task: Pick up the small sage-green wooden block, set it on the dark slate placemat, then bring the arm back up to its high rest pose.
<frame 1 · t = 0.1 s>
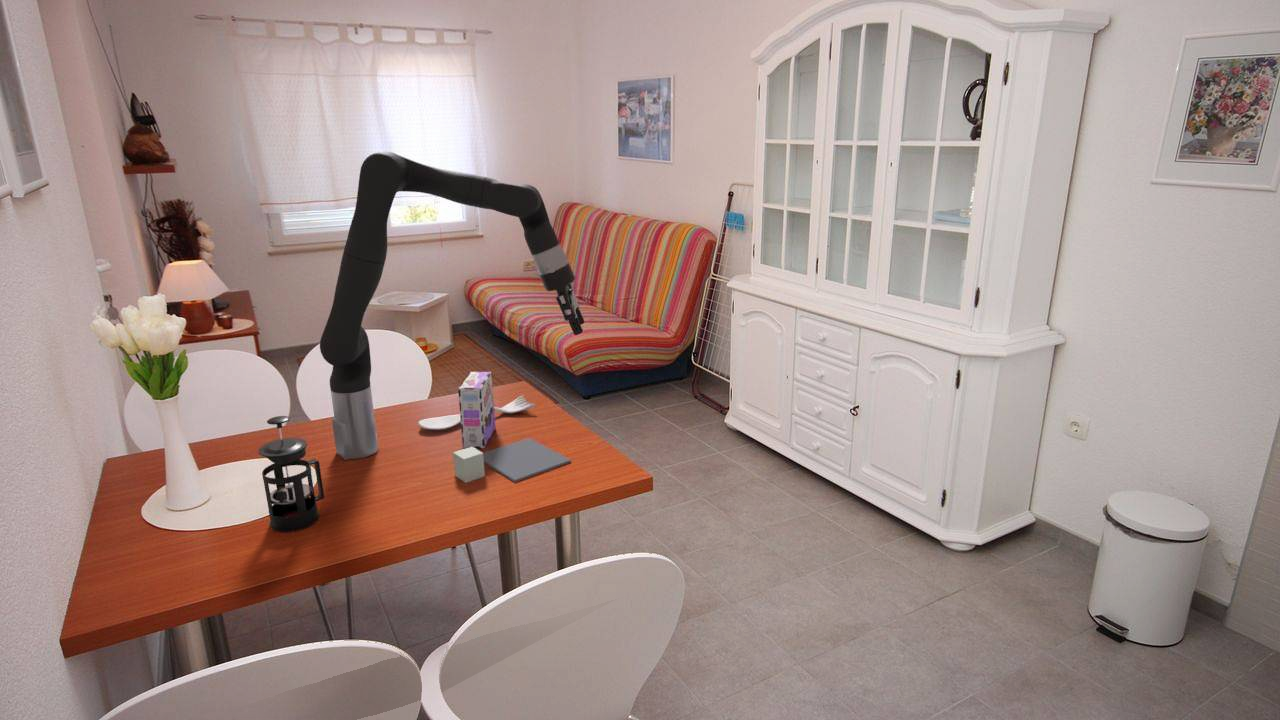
hand: (579, 328, 178), 31 cm above the table, tool tilted 20°, fingers open, 8 cm apart
french press: (297, 520, 154), on the table
candy box: (479, 438, 194), on the table
placemat: (522, 459, 181), on the table
sage block: (469, 476, 173), on the table
spoon: (477, 421, 207), on the table
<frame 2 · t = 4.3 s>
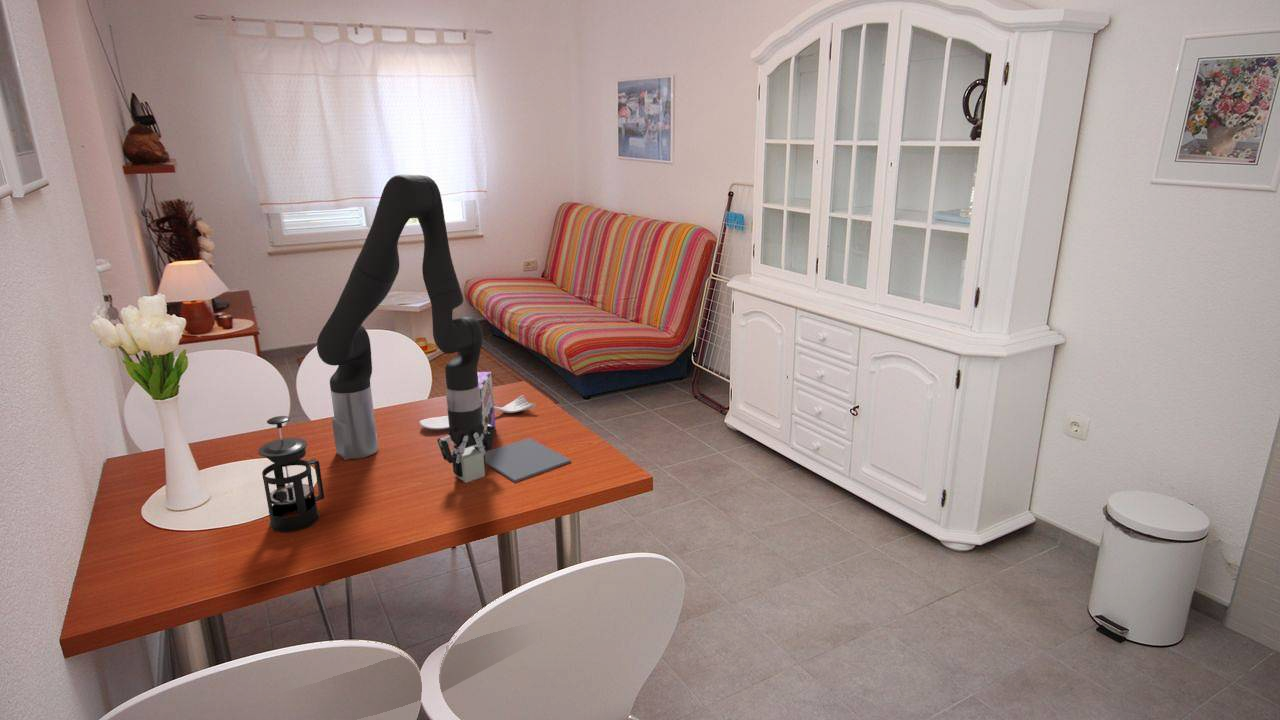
hand: (469, 472, 173), 1 cm above the table, tool pointing down, fingers closed on sage block, 5 cm apart
sage block: (470, 475, 173), on the table, touching gripper
everything else where it was.
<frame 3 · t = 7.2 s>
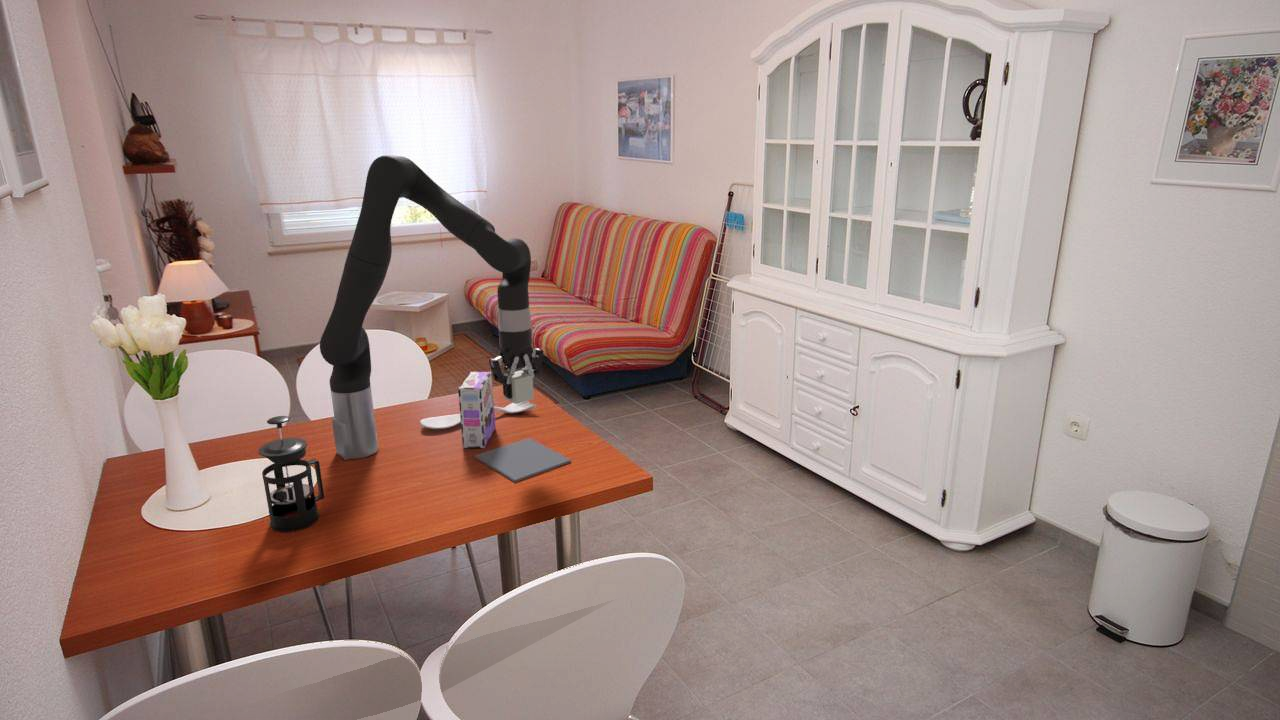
hand: (518, 394, 176), 17 cm above the table, tool pointing down, fingers closed on sage block, 5 cm apart
sage block: (519, 398, 176), point 16 cm above the table, touching gripper
everything else where it was.
when the fingers open (3 cm above the table, at t = 10.2 s): sage block drops 1 cm, resting on placemat.
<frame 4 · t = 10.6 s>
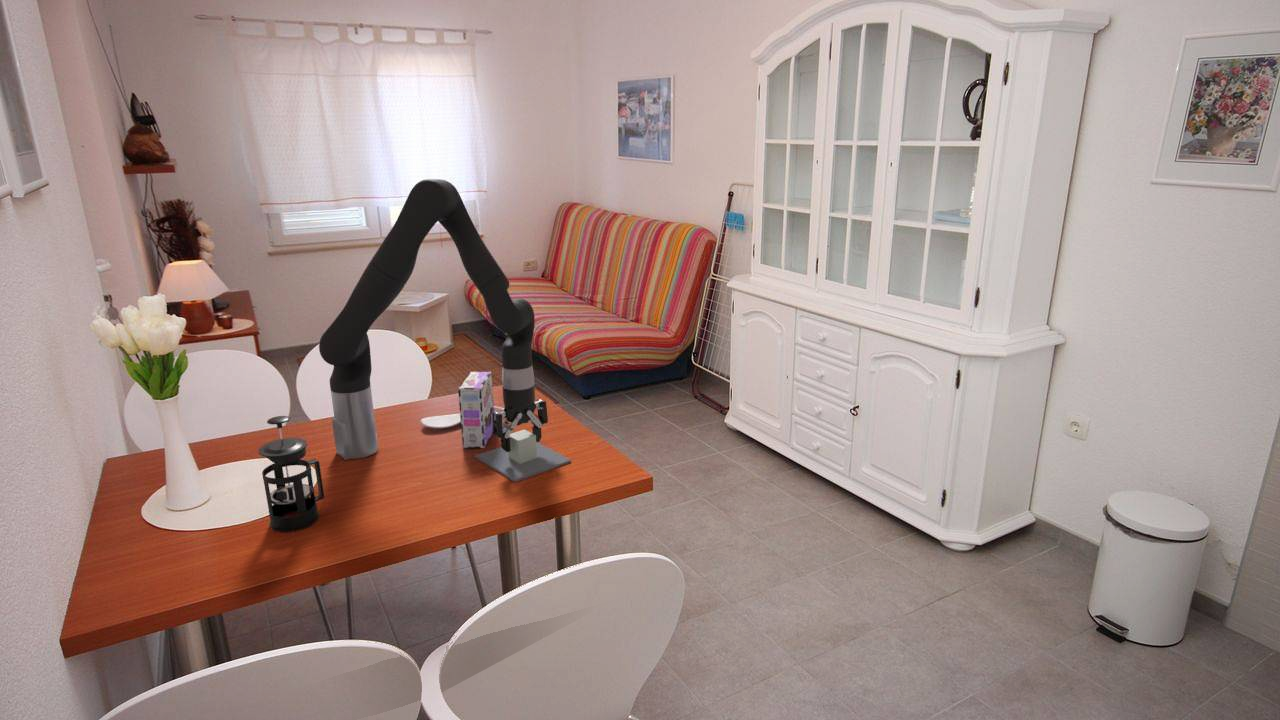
hand: (521, 446, 180), 4 cm above the table, tool pointing down, fingers open, 8 cm apart
sage block: (522, 457, 181), point 1 cm above the table, touching placemat
everything else where it was.
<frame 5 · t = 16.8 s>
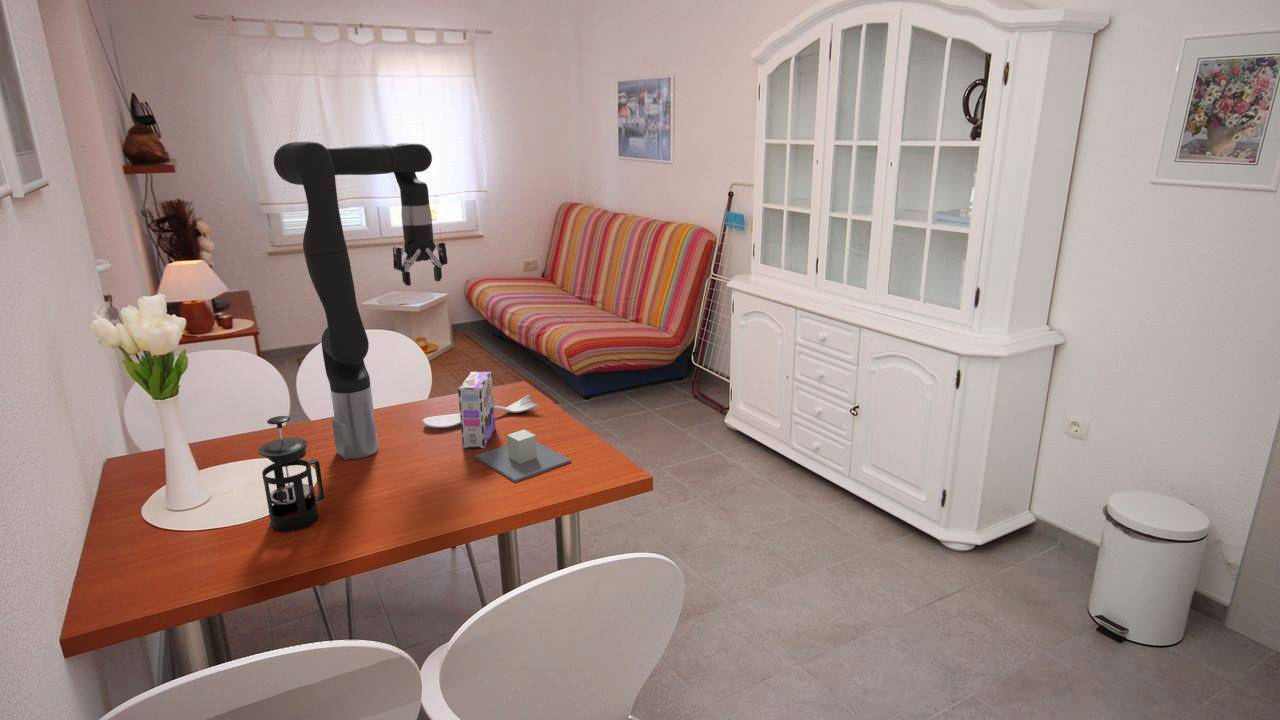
hand: (422, 283, 199), 38 cm above the table, tool pointing down, fingers open, 8 cm apart
at the end: sage block inside the target area on the placemat (0.0 cm from its centre), point 0.6 cm above the placemat's base; sage block tilted 0°; the gripper is holding nothing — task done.
